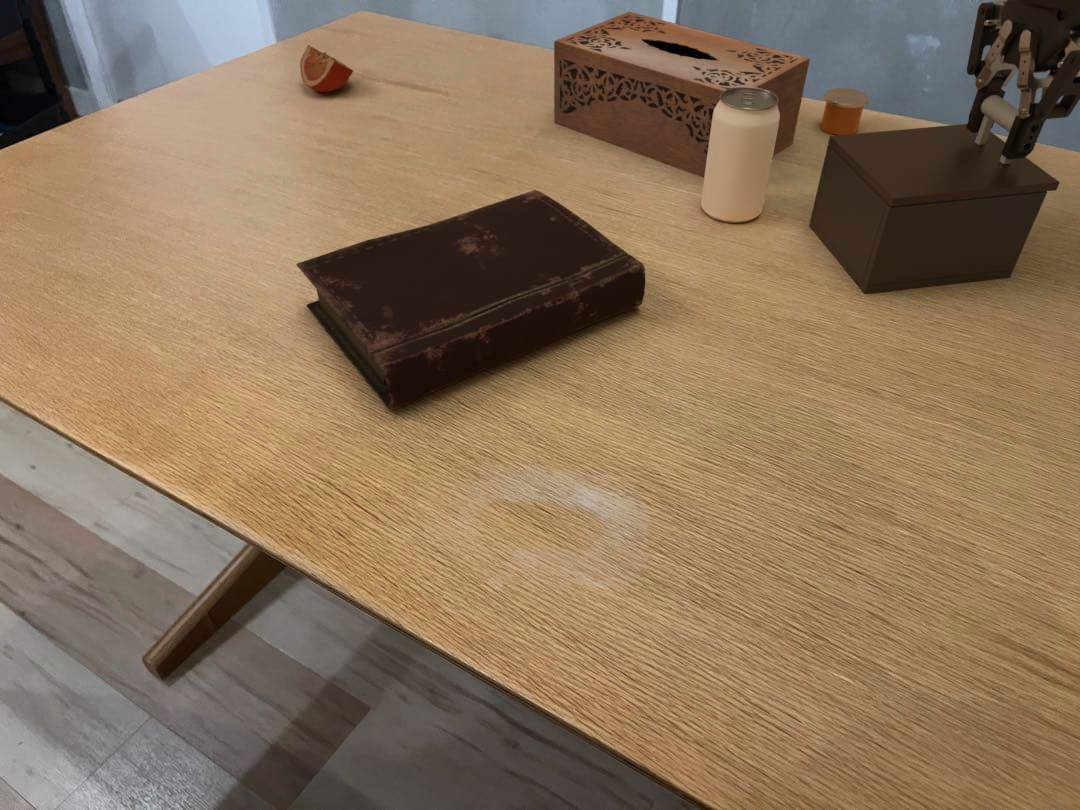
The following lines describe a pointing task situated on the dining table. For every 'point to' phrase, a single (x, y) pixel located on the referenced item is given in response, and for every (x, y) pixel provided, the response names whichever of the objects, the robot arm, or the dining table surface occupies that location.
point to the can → (740, 154)
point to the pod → (843, 110)
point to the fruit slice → (322, 71)
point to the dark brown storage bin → (917, 233)
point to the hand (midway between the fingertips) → (995, 142)
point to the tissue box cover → (665, 85)
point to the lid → (943, 161)
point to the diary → (468, 293)
